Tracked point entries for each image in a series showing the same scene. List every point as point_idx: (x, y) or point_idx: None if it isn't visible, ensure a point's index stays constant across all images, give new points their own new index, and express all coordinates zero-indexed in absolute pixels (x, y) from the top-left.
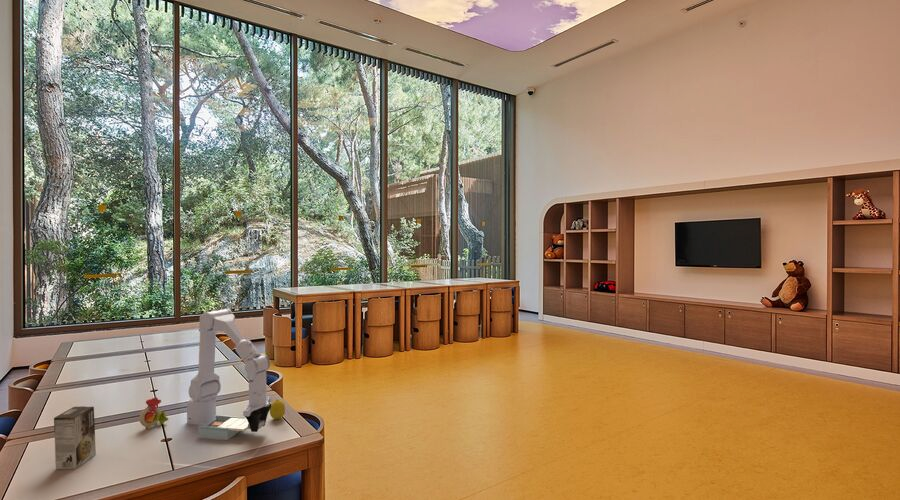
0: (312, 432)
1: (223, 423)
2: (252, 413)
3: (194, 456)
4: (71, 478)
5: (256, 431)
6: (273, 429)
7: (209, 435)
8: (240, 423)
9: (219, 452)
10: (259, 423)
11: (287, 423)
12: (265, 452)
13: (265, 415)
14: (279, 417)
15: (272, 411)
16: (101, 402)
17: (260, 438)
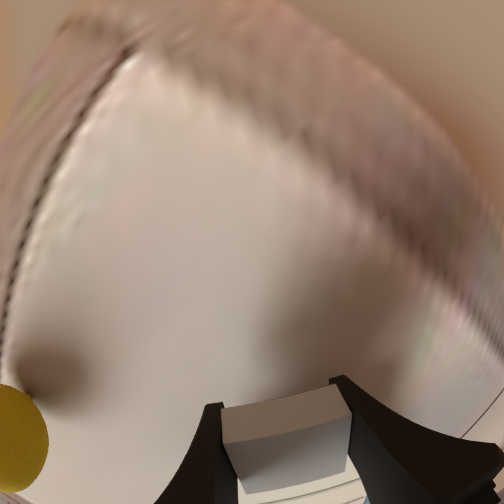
0: (54, 36)
1: None
2: (496, 493)
3: (464, 408)
4: None
5: (347, 377)
6: (114, 352)
7: None
8: (295, 501)
9: (450, 376)
10: (315, 430)
11: (11, 318)
12: (441, 152)
13: (216, 485)
14: (17, 392)
15: (36, 455)
16: None
17: (279, 338)
